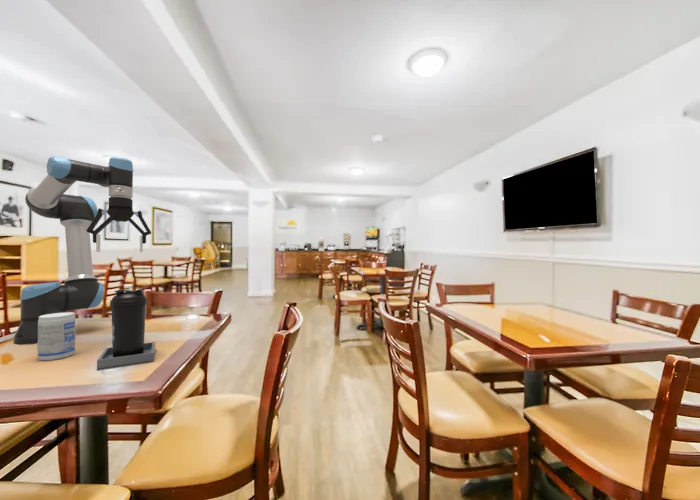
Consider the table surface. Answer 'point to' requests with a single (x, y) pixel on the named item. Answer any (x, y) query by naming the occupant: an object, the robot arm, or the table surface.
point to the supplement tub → (56, 336)
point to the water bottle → (128, 322)
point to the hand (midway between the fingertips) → (120, 251)
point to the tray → (125, 358)
